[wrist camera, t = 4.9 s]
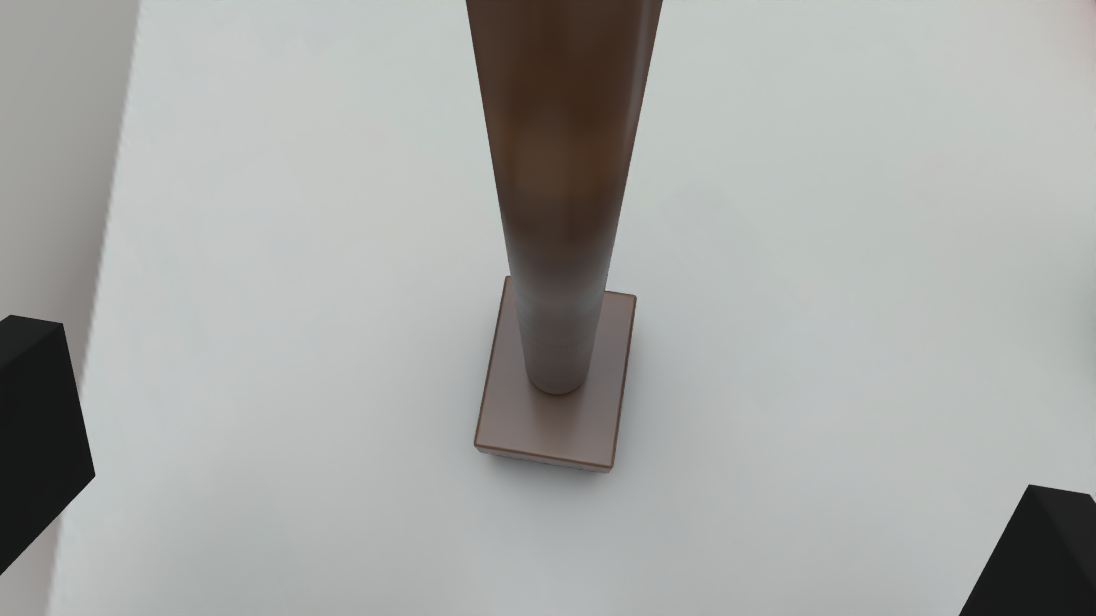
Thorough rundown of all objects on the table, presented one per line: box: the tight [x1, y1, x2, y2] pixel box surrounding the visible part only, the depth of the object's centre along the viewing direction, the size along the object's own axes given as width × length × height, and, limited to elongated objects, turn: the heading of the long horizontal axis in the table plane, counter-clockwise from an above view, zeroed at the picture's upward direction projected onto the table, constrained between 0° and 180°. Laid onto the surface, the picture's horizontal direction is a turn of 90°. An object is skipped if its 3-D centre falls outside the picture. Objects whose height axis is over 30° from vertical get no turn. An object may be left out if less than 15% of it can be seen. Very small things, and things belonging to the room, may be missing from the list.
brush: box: [466, 0, 663, 473], centre depth 16 cm, size 7×4×22 cm, turn 171°
